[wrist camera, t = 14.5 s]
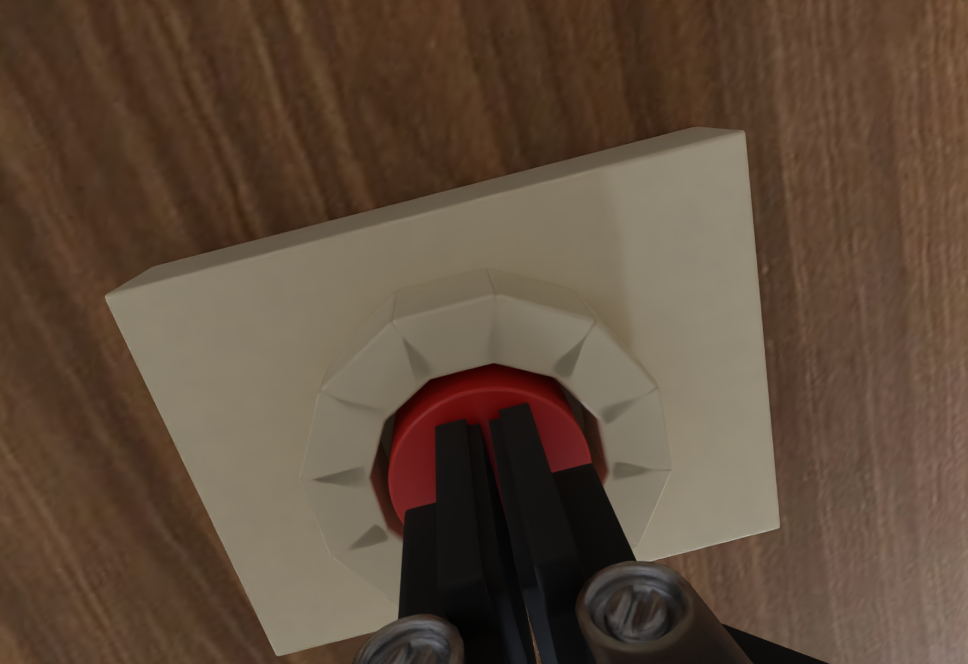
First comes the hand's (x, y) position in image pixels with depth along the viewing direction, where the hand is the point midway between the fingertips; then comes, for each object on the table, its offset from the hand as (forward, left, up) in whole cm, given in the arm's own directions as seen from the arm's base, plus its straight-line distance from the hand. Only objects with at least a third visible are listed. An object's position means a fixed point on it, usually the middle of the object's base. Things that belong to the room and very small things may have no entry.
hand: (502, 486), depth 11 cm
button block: (0, 0, -4) cm, 4 cm away
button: (0, 0, -2) cm, 2 cm away
